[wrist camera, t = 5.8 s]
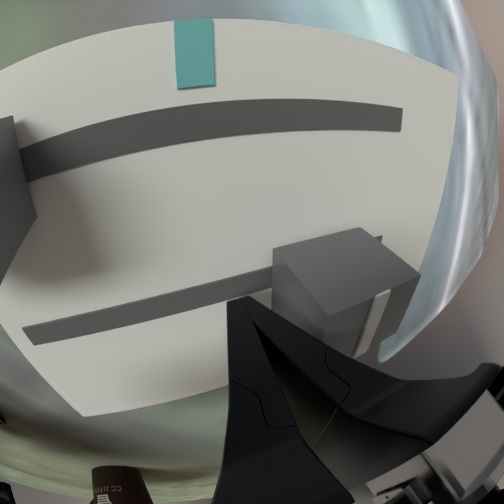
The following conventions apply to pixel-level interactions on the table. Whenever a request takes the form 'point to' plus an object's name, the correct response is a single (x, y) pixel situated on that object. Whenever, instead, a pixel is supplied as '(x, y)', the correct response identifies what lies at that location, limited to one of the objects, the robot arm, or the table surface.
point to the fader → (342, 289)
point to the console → (202, 188)
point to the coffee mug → (119, 486)
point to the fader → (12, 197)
